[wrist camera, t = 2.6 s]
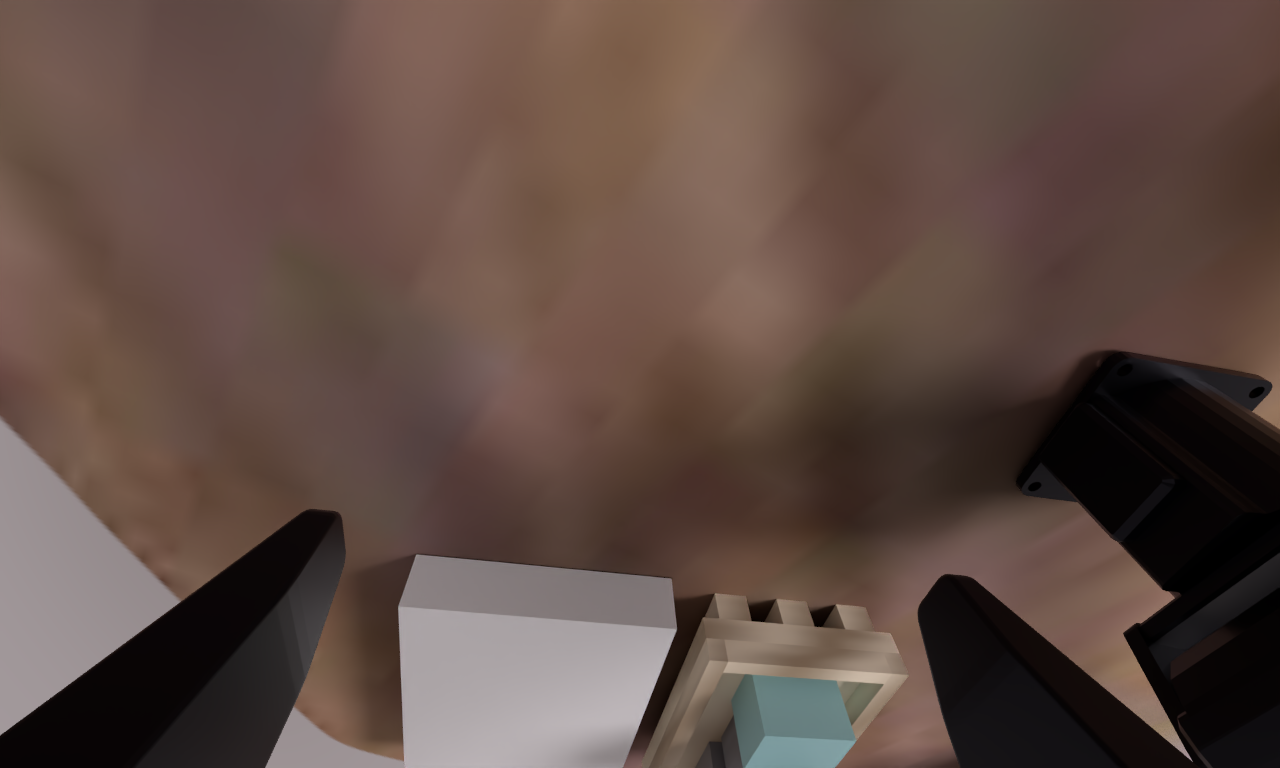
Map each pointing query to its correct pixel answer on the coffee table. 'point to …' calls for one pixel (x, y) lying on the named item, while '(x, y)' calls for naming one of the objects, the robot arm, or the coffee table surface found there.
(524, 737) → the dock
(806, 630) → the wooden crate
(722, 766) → the charcoal block
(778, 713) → the teal block
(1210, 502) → the robot arm
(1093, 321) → the coffee table surface
